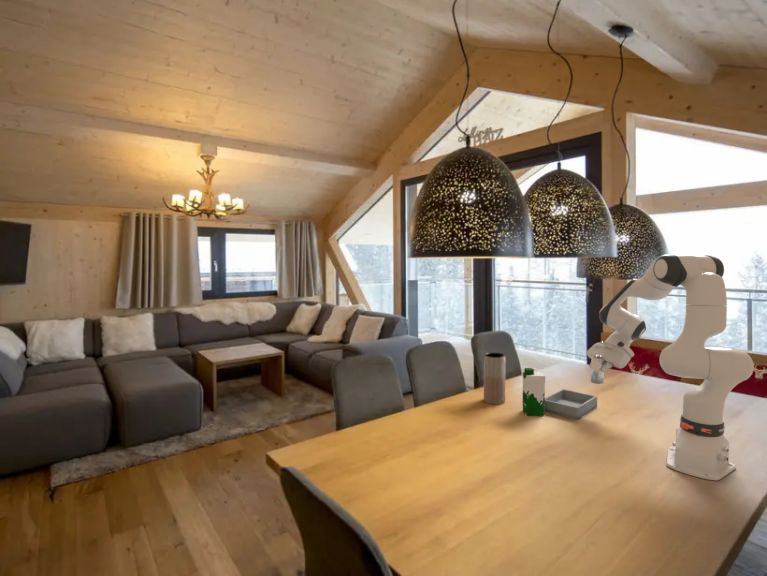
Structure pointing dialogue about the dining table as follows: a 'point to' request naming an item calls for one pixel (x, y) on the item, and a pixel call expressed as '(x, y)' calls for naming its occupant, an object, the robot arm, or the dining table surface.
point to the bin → (570, 403)
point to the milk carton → (533, 392)
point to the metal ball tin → (597, 369)
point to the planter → (494, 378)
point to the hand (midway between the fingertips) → (596, 368)
